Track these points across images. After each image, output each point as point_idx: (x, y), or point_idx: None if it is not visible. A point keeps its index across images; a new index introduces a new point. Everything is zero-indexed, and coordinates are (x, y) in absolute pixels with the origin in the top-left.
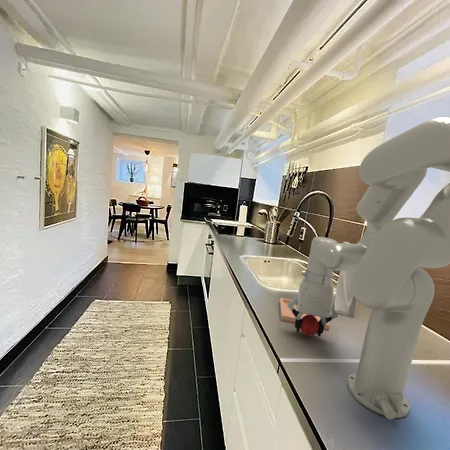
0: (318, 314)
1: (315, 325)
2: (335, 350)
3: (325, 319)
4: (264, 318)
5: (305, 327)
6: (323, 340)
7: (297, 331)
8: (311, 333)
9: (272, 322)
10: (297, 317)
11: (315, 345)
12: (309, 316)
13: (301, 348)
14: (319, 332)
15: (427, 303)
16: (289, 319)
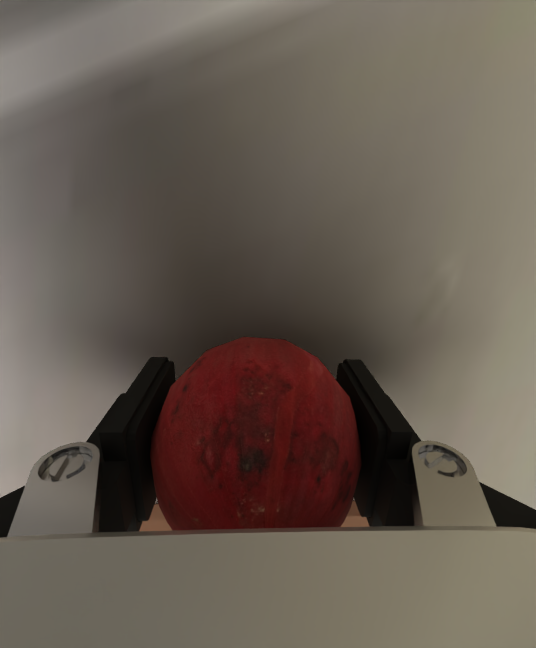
0: (130, 580)
1: (202, 402)
2: (36, 248)
3: (14, 522)
4: (525, 485)
5: (316, 369)
6: (130, 365)
7: (357, 360)
8: (242, 338)
9: (482, 459)
10: (453, 465)
11: (205, 263)
12: (293, 523)
13: (341, 163)
14: (156, 378)
15: None
16: (366, 521)
